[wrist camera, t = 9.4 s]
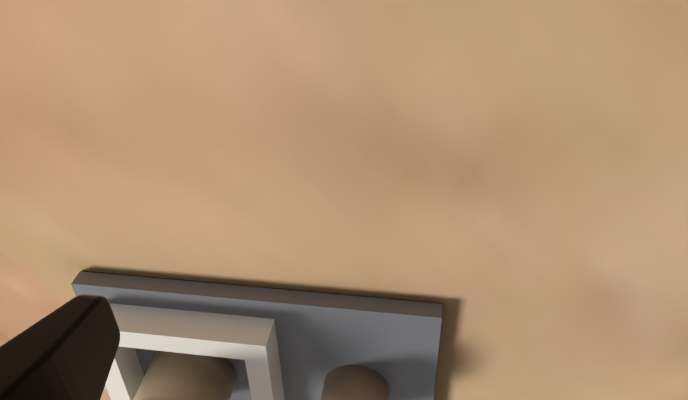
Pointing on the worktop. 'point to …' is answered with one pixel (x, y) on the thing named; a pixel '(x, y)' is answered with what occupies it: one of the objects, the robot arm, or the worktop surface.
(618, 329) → the worktop surface
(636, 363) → the worktop surface
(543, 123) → the worktop surface
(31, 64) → the worktop surface
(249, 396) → the board
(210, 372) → the beige rounded cylinder
